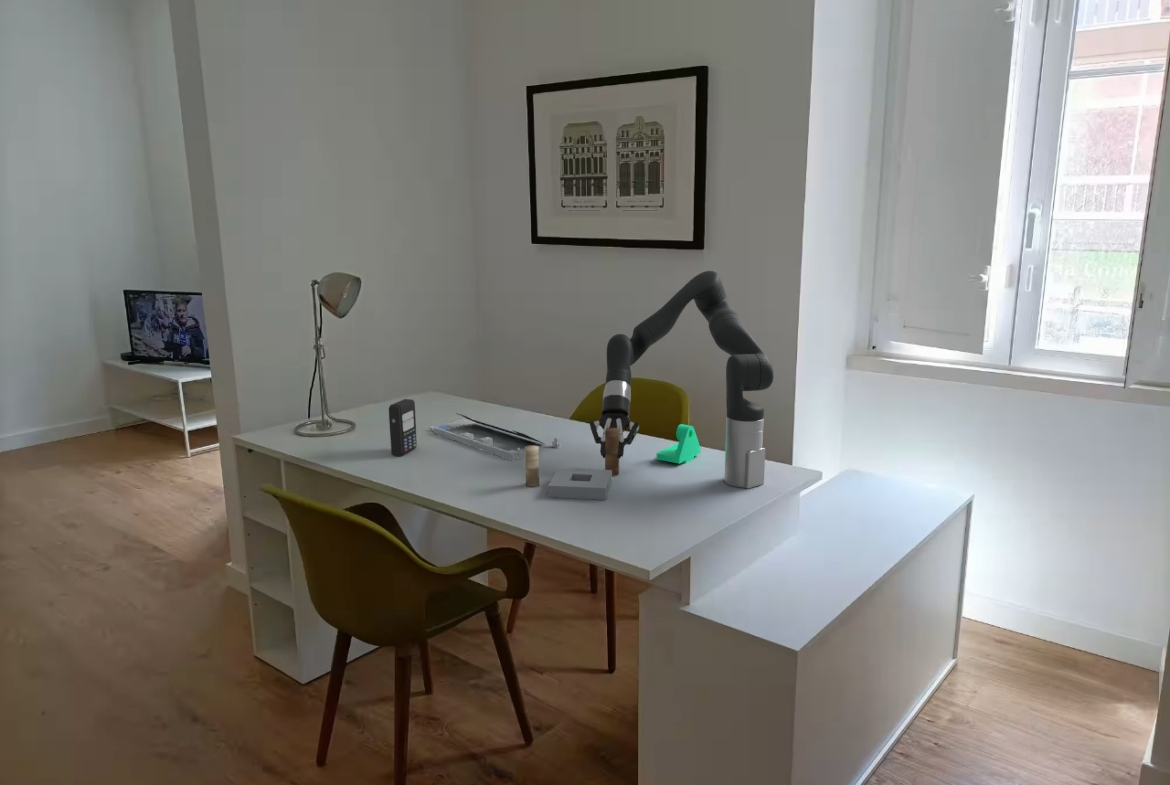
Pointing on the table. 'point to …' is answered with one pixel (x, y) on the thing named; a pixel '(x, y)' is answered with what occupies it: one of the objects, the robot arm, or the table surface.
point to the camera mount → (682, 446)
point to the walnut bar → (612, 450)
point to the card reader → (402, 427)
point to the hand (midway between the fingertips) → (611, 456)
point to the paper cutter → (483, 442)
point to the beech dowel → (532, 465)
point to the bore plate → (580, 483)
